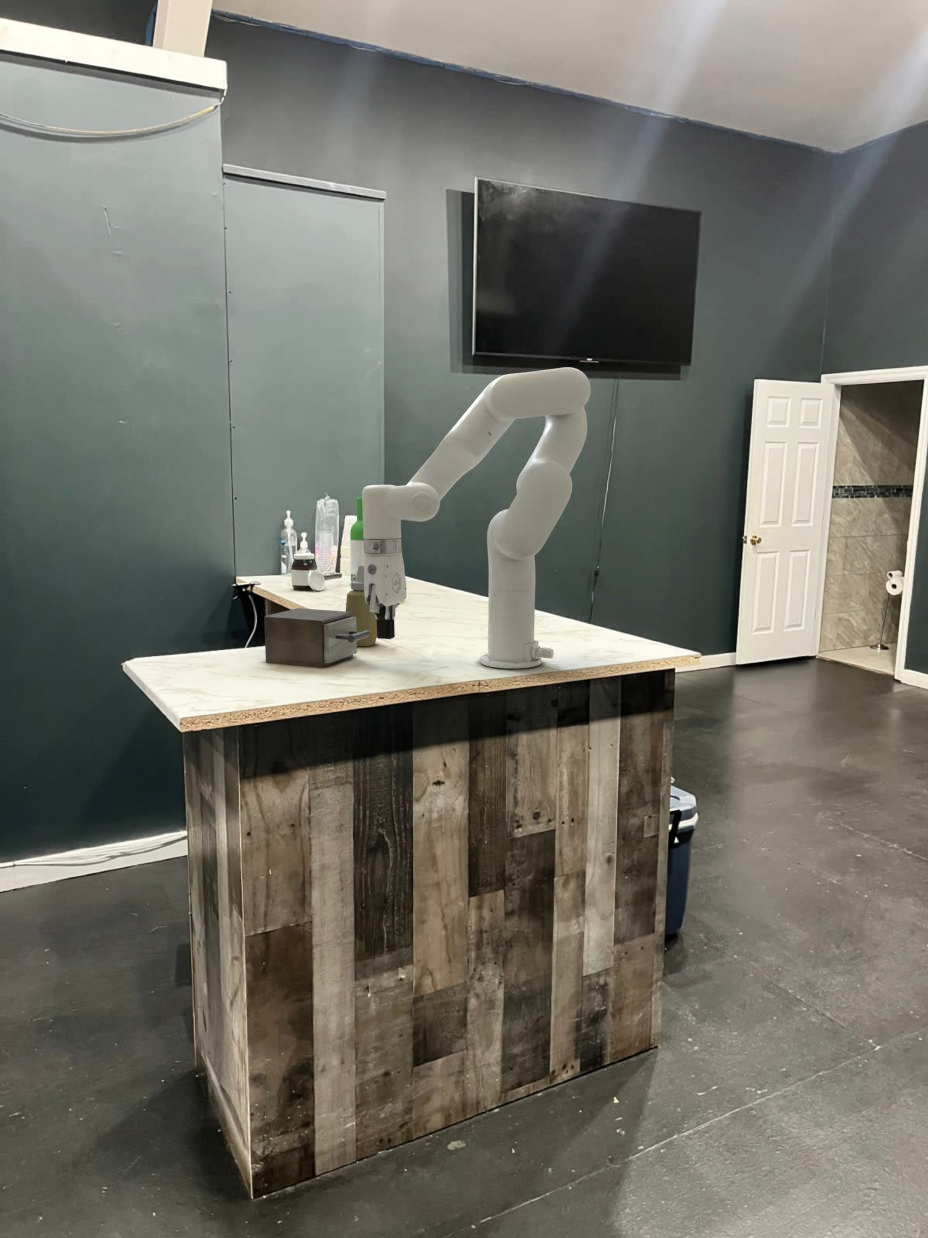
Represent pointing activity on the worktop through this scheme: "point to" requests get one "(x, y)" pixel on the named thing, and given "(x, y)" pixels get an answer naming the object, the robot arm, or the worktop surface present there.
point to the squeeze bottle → (361, 610)
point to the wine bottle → (357, 541)
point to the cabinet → (299, 636)
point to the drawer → (341, 639)
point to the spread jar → (306, 573)
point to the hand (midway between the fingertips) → (386, 638)
